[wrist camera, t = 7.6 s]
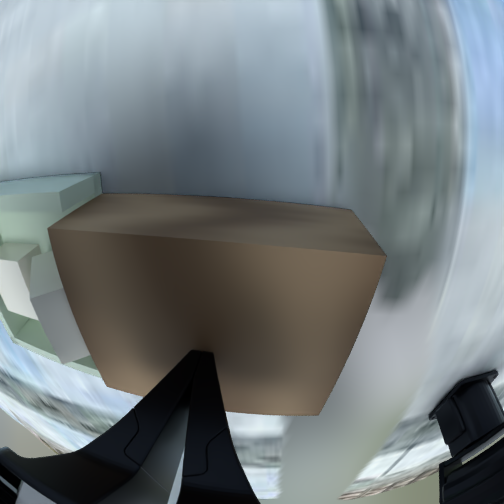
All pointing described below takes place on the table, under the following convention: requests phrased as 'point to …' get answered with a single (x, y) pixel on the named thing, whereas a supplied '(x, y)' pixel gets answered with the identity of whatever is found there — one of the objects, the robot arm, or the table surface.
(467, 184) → the table surface
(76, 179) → the tray
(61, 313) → the tile
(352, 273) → the tan cardboard slab
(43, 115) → the table surface
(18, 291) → the tile
